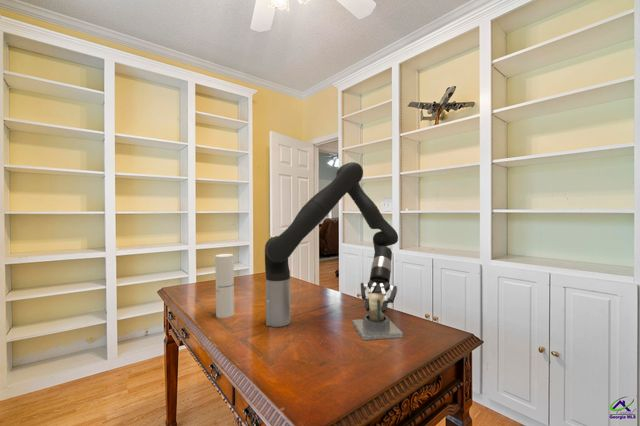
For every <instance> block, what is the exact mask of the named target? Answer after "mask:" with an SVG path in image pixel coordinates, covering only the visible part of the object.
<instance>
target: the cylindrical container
mask: <svg viewBox="0 0 640 426" xmlns="http://www.w3.org/2000/svg"><path fill="white" fill-rule="evenodd" d="M214 262H215V264H214V265H215V316H216V318H218V319H226V318H227V319H228V318H230V317H232V316H234V315H235V290H234V289H235V287H234V286H235V285H234V282H235V281H234V276H235V275H234V254H232V253H220V254H215V256H214Z"/></svg>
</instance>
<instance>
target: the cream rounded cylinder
mask: <svg viewBox="0 0 640 426" xmlns="http://www.w3.org/2000/svg"><path fill="white" fill-rule="evenodd" d="M383 301H384V295H383V294H381V293H370V294H369V311H368V314H369V320H371V321H375V322H379V321H384V315H385V313H383V312H382V308H383Z"/></svg>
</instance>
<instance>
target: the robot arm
mask: <svg viewBox="0 0 640 426" xmlns="http://www.w3.org/2000/svg"><path fill="white" fill-rule="evenodd" d="M363 177H364V169H363V167H362V165H361V164H360V163H357V162H352V161H351V162H347V163H345V164H342V166H339V167H338V169H337V170H336V176H335V177H334V178H333V180H332V181H331V182H330V183H329V184H328V185H326V186H325V187H324V188H323V189H321V190H319V191H318V192H317V193H315V194H314V195H313V196H312V197H311V198H310V199H309V200H308V201H307V202H306V203H305V204H304V205H303V206H302V207H301V209H300V210H299V212H298V213H297V214H296V216H295V217H294V219H293V220H292V222H291V223H290V225H289V226H288V227H287V228H286V229H285V230H284V231H283V232H282V233H280V235H278V236H273V237H270V238H269V239H268V240H267V241H266V243H265V246H264V268H265V271H264V272H265V295H266V297H265V298H266V299H265V322H266V323H265V325H266V327H272V328H279V327H280V328H281V327H285V326H287V325H289V324H290V323H291V271H290V266H289V258H290V257H291V255H292V254H293V252H294V251H295V250H296V249H297V248H298V246H299V245H300V243H301V242H302V241H304V239H305V237H307V236H308V235H309V234H310V233H311V232H312V231H313V230H314V229H315V228H316V227H317V226H318V225H319V224H320V223H321V222H322V221H323V220H324V219H325V218H326V217H327V216H328V215H329V213H330V212H331V211H332V210H333V209H334V208H335V206H336V205H337V204H338V203H339V202H340V200H341V199H342V198H343V197H344V196H345V195H346V194H348V195H349V197H350V198H351V200H352V201H353V202H354V204H355V205H356V207H357V209H358V210H359V211H360V212H359V213H360V214H361V215H362V217H363V219H364V220H365V222H366V224H367V225H368V227H369V228H370V229H371V230H380V231H377V232H375V233H374V235H373V237H372V242H373V248H374V249H373V250H374V253H373V259H372V264H371V268H370V269H371V270H370V275H369V280H368V282H367V283H364V282H360V296H361V300H363V301H365V302H364V309H365V310H366V312H369V294H370V293H381V294H383V295H384V301H383V308H382V312H383V313H384V314H386V313H387V311H388V305H389V304H393V303H394V302H395V298H396V295H397V293H398V287H397V285H394V286H393V285H391V283H390V282H391V281H390V280H391V273H392V257H393V256H392V255H393V251H392V249H391V248H390V247H389V246H393V245H395V244H397V243H398V240H399V235H398V233H397V231H396V229H395V227H393V226H392V225H391V224H390V223H389V222H388V221H387V220H386V219H385V218H384V216H383V214H382V213H381V211H380V210H379V208H378V206H377V205H376V204H375V202H374V201H373V200H372V199H371V198H370V197H369V196H368V195H367V194H366V193H365V191H364V190H363V189H362V186H361V185H360V182H361V180H362V179H363ZM367 288H368V289H369V290H368V292H367V294H366V290H367ZM389 290H390V296H389V297H388V295H387V292H388V291H389Z"/></svg>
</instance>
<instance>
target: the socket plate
mask: <svg viewBox="0 0 640 426" xmlns="http://www.w3.org/2000/svg"><path fill="white" fill-rule="evenodd" d="M351 322H352V325H353V327H354V328H355V331H357V333H358V335H359V336H360V337H361V340H362V341H372V340H373V341H374V340H383V339H385V340H386V339H396V338H397V339H398V338H403V337H404V335H403V332H402V330H400V329H399V328H398V327H397V326H396V324H395V323H394V322H392V321H391V319H390V318H389V317H388V316H387V315H386V314H384V321H379V322H375V321H371V320H369V313H366V314H365V315H364V316H362V318H361V319H360V318H359V319H352V321H351Z"/></svg>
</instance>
